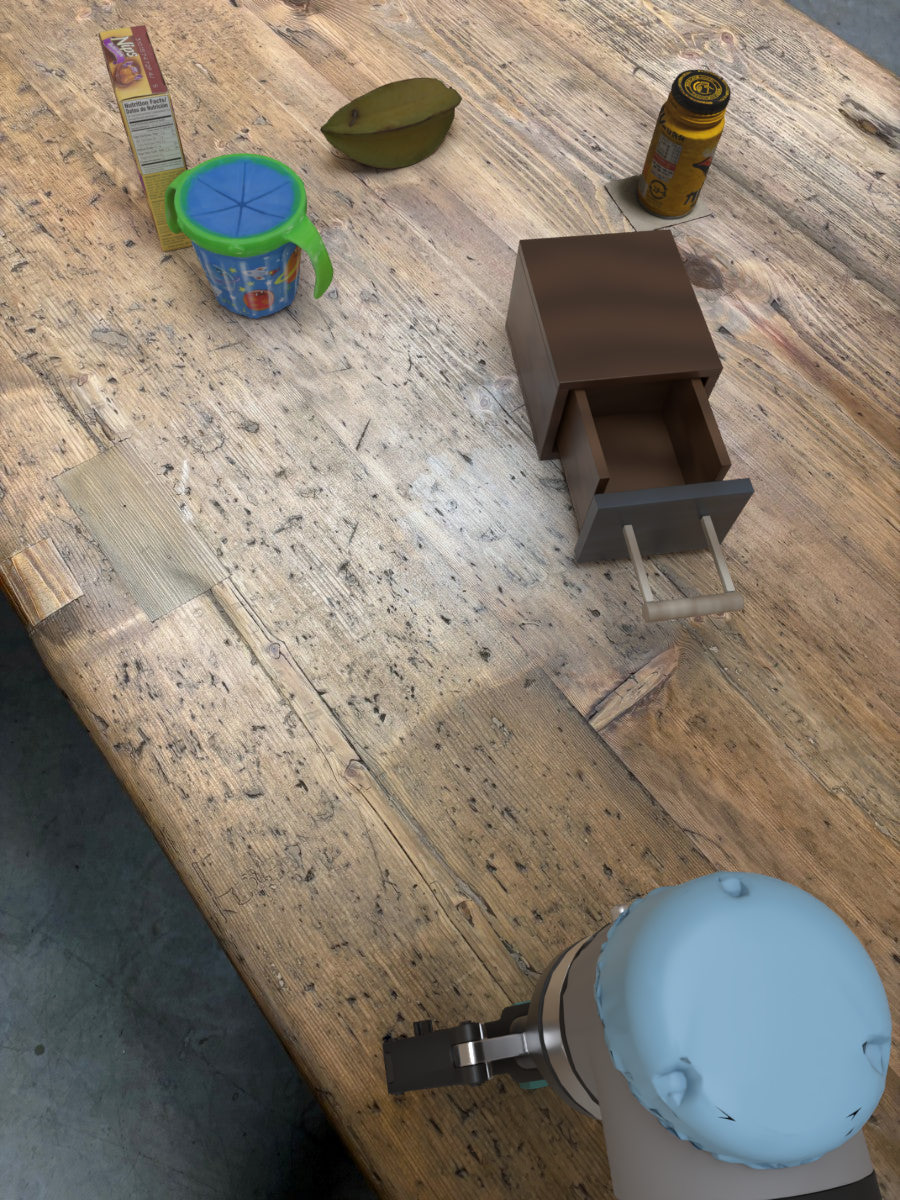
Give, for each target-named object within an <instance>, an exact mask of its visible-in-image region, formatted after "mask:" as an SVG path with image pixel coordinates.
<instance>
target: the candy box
mask: <svg viewBox="0 0 900 1200" xmlns="http://www.w3.org/2000/svg"><path fill="white" fill-rule="evenodd" d="M147 28H148V27H147V26H146V25H145V24H143V25H134V26H128V27H122V28H121V27H120V28H115V29H109V30H103V31H100V32H98V33H97V34H98V40H99V44H100V47H101V51H102V54H103V59H104V63H105V65H106V69H107V73H108V77H109V80H110V83H111V86H112V91H113V94H114V97H115V101H116V104H117V108H118V111H119V115H120V118H121V121H122V125H123V128H124V132H125V136H126V138H127V142H128V145H129V150H130V152H131V156H132V159H133V162H134V165H135V169H136V172H137V175H138V178H139V182H140V185H141V189H142V191H143V195H144V197H145V201H146V203H147V205H148V206H147V207H148V211H149V213H150V217H151V220H152V223H153V226H154V228H155V232H156V235H157V237H158V241H159V245H160V248H161V251H162V252H171V251H174V250H175V251H176V250H180V249H185V248H190V247H193V246H192V242H191V239H190V238H189V237H187V236H186V235H185V234H184V233H183V232H180V233H178V234H175V233H173V232H172V231H171V230H170V229H169V227H168V224H167V220H166V214H165V192H166V189H167V187H168V186H169V185H170V184H171V183H172V182H173V180H174V179H176V178H177V177H178V176H179V175H180V174H182V173H183V172H184V171H185V170H189V169H188V165H187V161H186V156H185V151H184V147H183V143H182V139H181V135H180V131H179V127H178V122H177V118H176V114H175V113H176V112H175V109H174V105H173V101H172V97H171V92H170V89H169V87H168V85H167V82H166V79H165V77H164V74H163V72H162V68H161V66H160V63H159V60H158V58H157V55H156V52H155V50H154V46H153V44H152V42H151V41H152V40H151V38H150V35H149V32H148V29H147Z"/></svg>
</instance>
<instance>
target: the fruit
mask: <svg viewBox="0 0 900 1200" xmlns="http://www.w3.org/2000/svg"><path fill="white" fill-rule="evenodd" d="M462 100H463V97H462V96H461V94H460V93H459V92H458V91H457V90H456V89H455V88H453V86H452V85H451V86H449V87H447V86H446V84H445V83H444V81H442V80H440V79H438V78H435V77H434V78H433V77H412V78H411V77H410V78H405V79H401V80H396V81H391V82H388V83H386V84H382V85H380V86H378V87H376V88H374V89H372V90H370V91H368V92H366V93H364V94H362V95H360V96H357V97H355V98H354V99H352V100H351V101H350V102H349V103H346V104H344V105H343V106H342V107H340V108H339V109H338V110H336V111H335V112H334V113H333V114H332V115H331V116H330V117H329V119H328V120H327V121H326V123H325V124H323V125H322V126H321V127H320V129H319V131H320V133H321V134H322V135H323V137H324V138H325V139H326V142H328V143H329V144H330V145H331V146H332V147H333V148H334V149H335V150H337V151H338V152H340V153H341V154H342V155H344V156H346V157H348V158H349V159H352V160H353V161H355V162H356V163H360V164H363V165H365V166H368V167H372V168H377V169H387V170H388V169H399V168H400V169H401V168H405V167H409V166H412V165H415V164H417V163H419V162H421V161H423V160H425V159H426V158H428V157H430V156H431V155H432V154H433V153H434V152H435V151H436V150H437V149H438V148H439V147H440V146H441V144H442V143H443V142H444V141H445V139H446V137H447V135H448V134H449V131H450V129H451V127H452V125H453V122H454V119H455V115H456V108H457V107H458V106H460V105H461V103H462Z"/></svg>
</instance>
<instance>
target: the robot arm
mask: <svg viewBox="0 0 900 1200" xmlns="http://www.w3.org/2000/svg"><path fill="white" fill-rule="evenodd" d="M609 916H610V920H611V922H608V923H606V924H605V925H604V926H602V927H601V928H600V929H598V930H596V931H595V932H593V933H591V934H590V935H587V936H584V937H583V938H581V939H579V940H577V941H576V942H574V943H572V944H571V945H569V946H568V947H566V948H565V949H563V950H561V952H559V953H557V955H555V956H554V958H552V960H551V961H550V962H549V963H548V964H547V966H546V967H545V968H544V970H543V971H542V973H541V974H540V976H539V978H538V980H537V982H536V984H535V986H534V988H533V992H532V995H531V998H530V1000H531V1002H528V1003H523V1004H518V1005H514V1006H511V1005H509V1006H505V1007H504V1008H503V1009H502V1011H501V1014H500V1018H499V1019H497V1020H492V1021H487V1022H485V1021H481V1022H479V1021H477V1022H476V1021H472V1019H469V1020H463V1021H461V1022H460V1024H458V1025H456V1026H452V1027H449V1028H442V1029H438V1030H437V1029H436V1030H434V1028H433V1019H431V1018H429V1019H424V1020H418V1021H417V1020H416V1021H413V1022H412V1027H413V1035H414V1036H408V1037H405V1038H398V1037H392V1038H388V1039H387V1040H386V1041H384V1042H383V1043H381V1047H382V1055H383V1064H384V1071H385V1079H386V1087H387V1094H388V1095H392V1096H393V1095H394V1096H396V1097H397V1096H402V1095H405V1094H406V1093H407V1092H413V1091H421V1090H430V1089H437V1088H446V1087H452V1086H467V1085H468V1086H470V1088H477V1087H481V1086H483V1084H485V1083H486V1082H488V1081H489V1080H492V1079H495V1076H499V1075H500V1076H501V1075H507V1074H508V1075H510V1077H511V1078H512V1079H513V1081H514V1082H515V1083H518V1084H519V1083H525V1082H532V1081H539V1080H545V1081H546V1082H547V1083H548V1085H549V1086H548V1087H550V1089H551V1090H552V1091H553V1093H555V1095H557V1097H558V1098H559V1099H561V1101H562V1102H563V1103H565V1104H566V1105H567V1106H568V1107H570V1108H572V1109H573V1110H574V1111H576V1112H578V1113H579V1114H581V1115H583V1116H585V1117H587V1118H589V1119H593V1120H595V1121H599V1122H601V1124H602V1129H603V1137H604V1141H605V1148H606V1153H607V1159H608V1166H609V1171H610V1177H611V1183H612V1190H613V1195H614V1197H615V1198H616V1199H617V1200H883V1195H882V1193H881V1189H880V1184H879V1181H878V1177H877V1174H876V1171H875V1170H876V1169H875V1168H874V1167H873V1163H872V1159H871V1156H870V1155H871V1154H870V1151H869V1149H868V1145H867V1141H866V1138H865V1134H864V1130H863V1127H864V1126H865V1124H867V1122H868V1121H869V1119H870V1118H871V1117H872V1115H873V1114H874V1112H875V1110H876V1109H877V1107H878V1105H879V1103H880V1101H881V1099H882V1096H883V1095H884V1092H885V1089H886V1080H887V1073H888V1070H889V1065H890V1064H889V1063H890V1057H891V1051H892V1049H891V1048H892V1032H893V1022H892V1014H891V1009H890V1004H889V1000H888V996H887V993H886V990H885V986H884V984H883V981H882V978H881V976H880V974H879V972H878V970H877V968H876V965H875V963H874V962H873V960H872V958H871V957H870V955H869V953H868V951H867V950H866V948H865V947H864V945H863V944H862V943H861V940H859V938H858V937H857V935H855V933H854V932H853V931H852V930H851V928H850V927H849V926H848V925H847V924H846V923H845V921H844V920H843V919H842V918H841V917H840V916H839V915H838V914H837V913H836V912H835V911H834V910H832V909H831V908H830V907H829V906H828V905H826V903H824V902H823V901H821V900H819V899H818V898H817V897H815V896H814V895H812V894H811V893H809V892H808V891H806V890H805V889H802V888H801V887H799V886H797V885H794V884H792V883H790V882H788V881H785V880H782V879H780V878H776V877H774V876H770V875H766V874H763V873H758V872H750V871H739V870H737V871H733V870H732V871H730V870H729V871H727V870H718V871H715V872H712V873H709V874H705V875H701V876H698V877H696V878H693V879H689V880H687V881H685V882H681V883H679V884H676V885H665V886H659V887H655V888H653V889H652V890H650V891H648V893H647V894H646V895H645V897H644V898H639V897H638V898H636V899H635V900H634V901H632V902H631V903H630V904H629V903H619V904H615V905H614V906H613V907H612V908H611V909H610V911H609Z"/></svg>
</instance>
